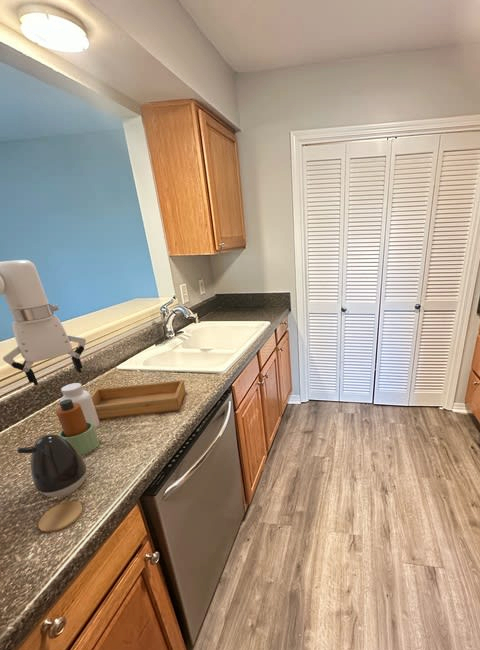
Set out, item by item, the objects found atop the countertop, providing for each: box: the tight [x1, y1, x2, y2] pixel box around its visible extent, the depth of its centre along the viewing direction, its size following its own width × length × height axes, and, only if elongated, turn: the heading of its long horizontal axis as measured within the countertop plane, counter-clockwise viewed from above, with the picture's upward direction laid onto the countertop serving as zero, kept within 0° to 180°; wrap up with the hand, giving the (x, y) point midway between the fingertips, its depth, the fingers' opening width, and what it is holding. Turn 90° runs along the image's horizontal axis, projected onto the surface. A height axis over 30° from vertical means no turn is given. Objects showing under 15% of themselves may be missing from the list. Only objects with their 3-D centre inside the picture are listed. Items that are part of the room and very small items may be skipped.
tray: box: [90, 379, 186, 421], centre depth 115 cm, size 31×15×6 cm, turn 100°
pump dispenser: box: [17, 433, 87, 498], centre depth 76 cm, size 10×10×15 cm
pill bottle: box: [59, 382, 100, 429], centre depth 101 cm, size 8×8×15 cm
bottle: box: [55, 399, 89, 437], centre depth 91 cm, size 6×6×15 cm
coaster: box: [37, 500, 83, 533], centre depth 71 cm, size 8×8×1 cm
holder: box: [57, 421, 100, 456], centre depth 93 cm, size 8×8×6 cm
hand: (58, 377), depth 85 cm, fingers open, 9 cm apart
